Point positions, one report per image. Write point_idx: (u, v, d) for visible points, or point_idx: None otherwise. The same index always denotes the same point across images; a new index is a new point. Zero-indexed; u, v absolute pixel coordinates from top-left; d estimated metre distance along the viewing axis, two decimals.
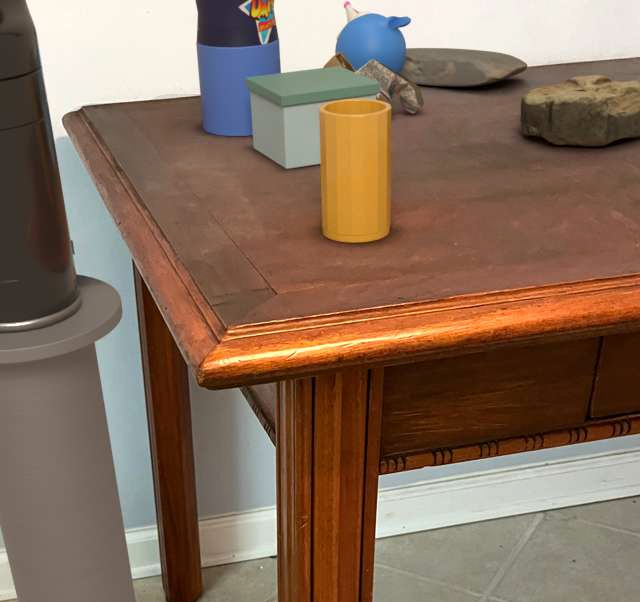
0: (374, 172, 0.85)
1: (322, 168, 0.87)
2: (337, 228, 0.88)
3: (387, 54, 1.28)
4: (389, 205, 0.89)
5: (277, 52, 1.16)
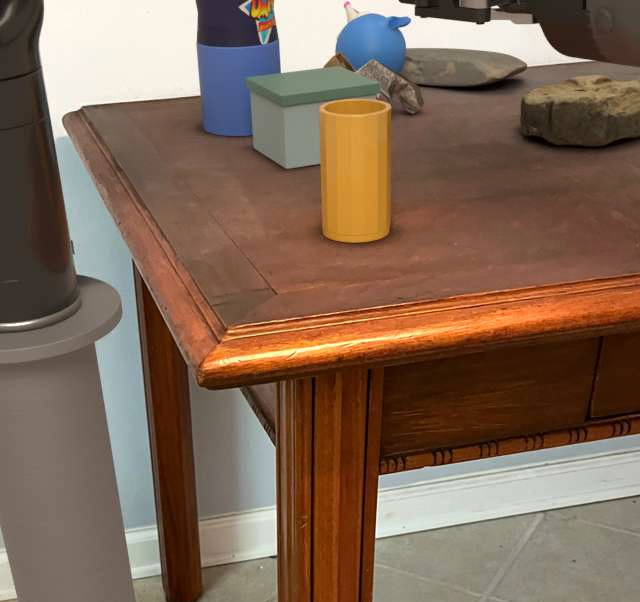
0: (374, 172, 0.85)
1: (322, 168, 0.87)
2: (337, 228, 0.88)
3: (387, 54, 1.28)
4: (389, 205, 0.89)
5: (277, 52, 1.16)
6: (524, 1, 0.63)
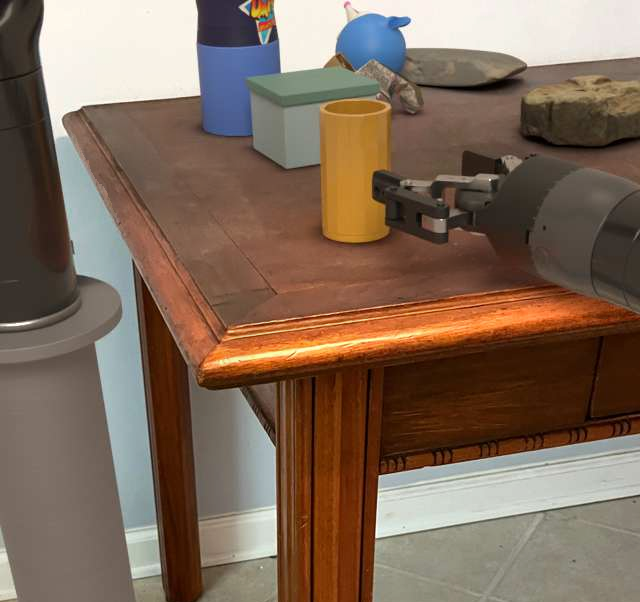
0: None
1: (322, 168, 0.87)
2: (337, 228, 0.88)
3: (387, 54, 1.28)
4: None
5: (277, 52, 1.16)
6: (478, 224, 0.72)
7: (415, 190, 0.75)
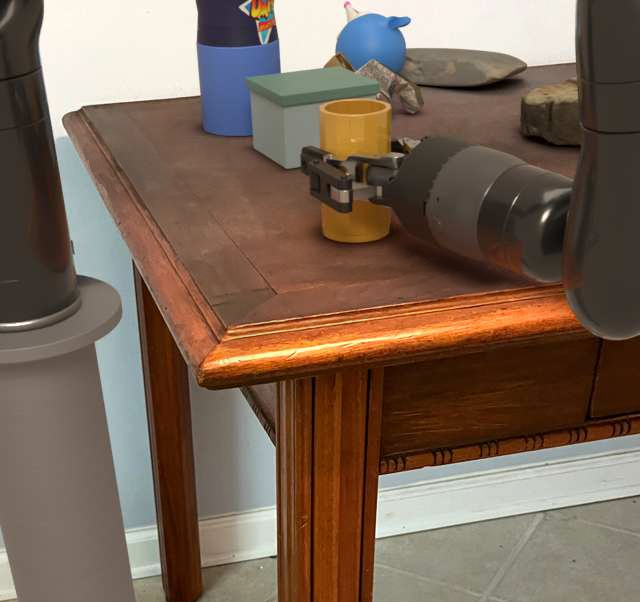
0: None
1: None
2: (337, 228, 0.88)
3: (387, 54, 1.28)
4: None
5: (277, 52, 1.16)
6: (384, 198, 0.80)
7: None
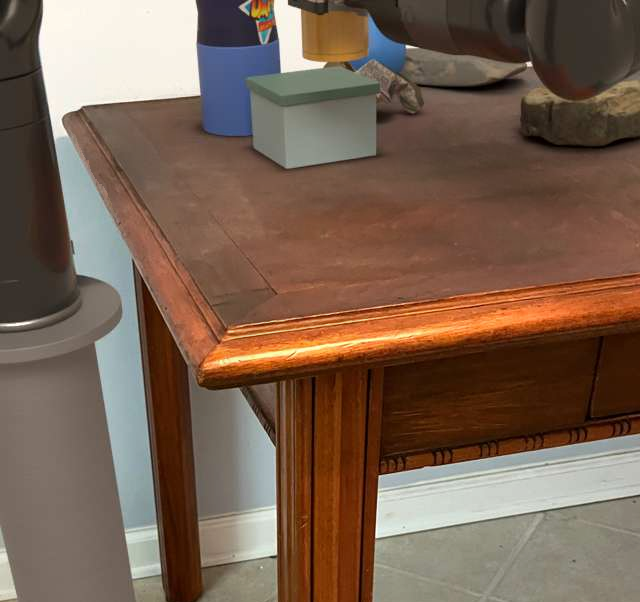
0: None
1: None
2: (316, 47, 0.90)
3: (387, 54, 1.28)
4: (367, 26, 0.91)
5: (277, 52, 1.16)
6: None
7: None
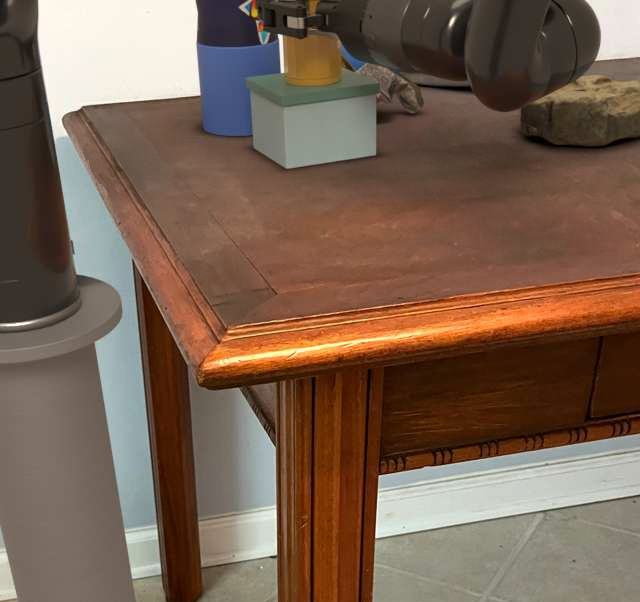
0: None
1: None
2: (296, 73, 1.05)
3: None
4: (340, 55, 1.05)
5: (277, 52, 1.16)
6: (330, 24, 0.96)
7: None
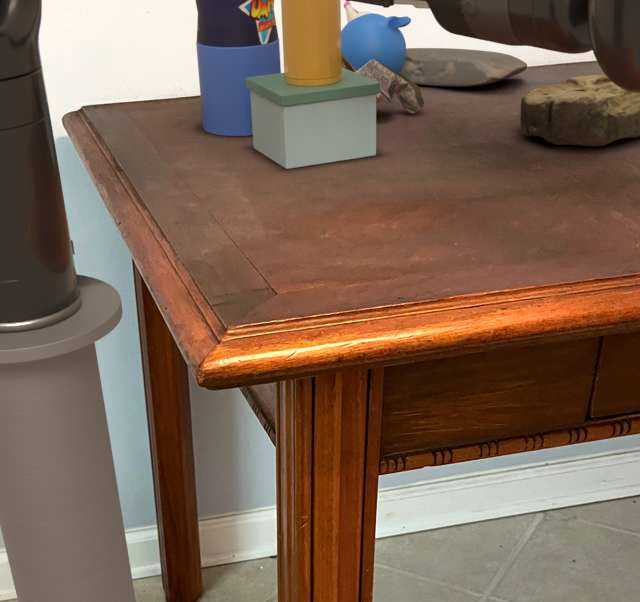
0: (326, 22, 1.02)
1: (283, 21, 1.04)
2: (296, 73, 1.05)
3: (387, 54, 1.28)
4: (340, 55, 1.05)
5: (277, 52, 1.16)
6: None
7: None
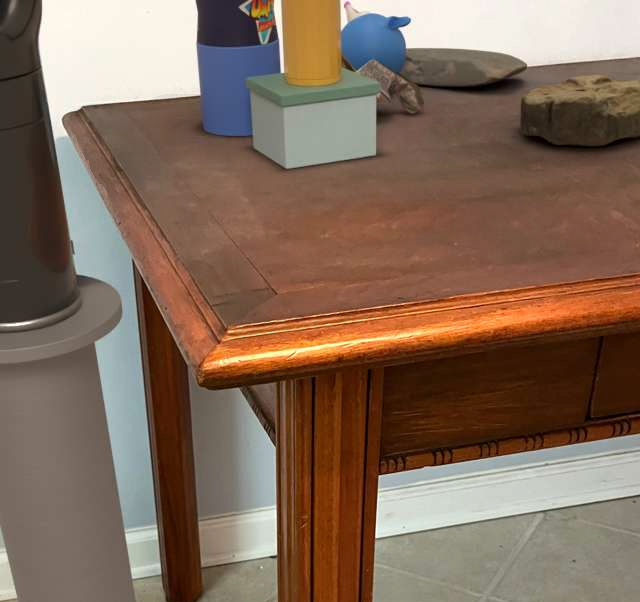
0: (326, 22, 1.02)
1: (283, 21, 1.04)
2: (296, 73, 1.05)
3: (387, 54, 1.28)
4: (340, 55, 1.05)
5: (277, 52, 1.16)
6: None
7: None
